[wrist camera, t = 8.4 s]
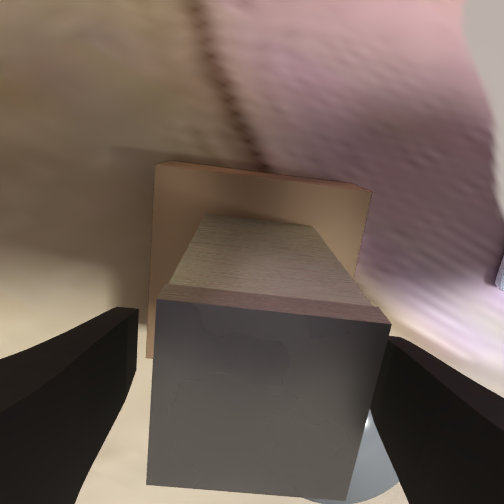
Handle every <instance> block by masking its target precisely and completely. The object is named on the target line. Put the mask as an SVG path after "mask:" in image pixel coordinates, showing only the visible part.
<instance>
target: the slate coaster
mask: <svg viewBox="0 0 504 504" xmlns="http://www.w3.org/2000/svg"><path fill="white" fill-rule="evenodd" d="M398 482H399V479H398V477H397V475H396V472H395V470H394V468H393V466H392V463H391V461H390V459H389V457H388V454H387V452H386V450H385V448H384V445H383V443H382V441H381V438H380V436H379V434H378V431H377V429H376V426H375V424H374V421H373V417H372V414H371V411H370V409H369V413H368V417H367V421H366V425H365V429H364V432H363V436H362V440H361V444H360V448H359V452H358V455H357V459H356V463H355V467H354V471H353V475H352V478H351V482H350V486H349V490H348V494H347V498H346V501H338V500H326V499H314V498H305V499H308V500H310V501H313V502H317V503H322V504H353V503H358V502H362V501H366V500H369V499H371V498H374V497H376V496H378V495H380V494H382V493H384V492H386V491H387V490H389V489H390V488H392V487H393V486H394V485H396V484H397V483H398Z"/></svg>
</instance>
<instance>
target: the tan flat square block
mask: <svg viewBox="0 0 504 504" xmlns="http://www.w3.org/2000/svg"><path fill="white" fill-rule="evenodd" d="M371 196H372V192H371V191H369V190H366V189H364V188H362V187H359V186H357V185H355V184H352V183H344V182H336V181H328V180H320V179H312V178H304V177H296V176H289V175H281V174H273V173H265V172H257V171H249V170H241V169H233V168H225V167H217V166H209V165H201V164H193V163H185V162H177V161H166V162H163V163H159V164H156V165H155V175H154V196H153V217H152V238H151V259H150V280H149V301H148V321H147V342H146V358H151V359H153V353H154V335H155V317H156V299H157V297H158V295H159V293H160V292H161V290H162V288H163V286H164V284H169V282H170V280H171V278H172V276H173V274H174V272H175V270H176V268H177V267H178V265H179V263H180V261H181V259H182V257H183V255H184V253H185V252H186V250H187V248H188V246H189V244H190V242H191V240H192V238H193V236H194V235H195V233H196V231H197V229H198V227H199V225H200V223H201V221H202V220H203V218H204V216H205V214H212V215H220V216H229V217H237V218H245V219H254V220H262V221H270V222H279V223H287V224H295V225H304V226H312V227H314V228H315V230H316V231H317V232H318V234H319V235H320V236H321V238H322V239H323V240H324V242H325V243H326V244H327V246H328V247H329V248H330V249H331V251H332V252H333V253H334V255H335V256H336V257H337V259H338V260H339V261H340V263H341V264H342V265H343V267H344V268H345V269H346V271H347V272H348V273H349V274H350V276H351V277H352V278H354V274H355V269H356V265H357V260H358V255H359V251H360V246H361V242H362V237H363V232H364V228H365V223H366V219H367V214H368V209H369V205H370V200H371Z"/></svg>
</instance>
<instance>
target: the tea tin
mask: <svg viewBox="0 0 504 504" xmlns="http://www.w3.org/2000/svg"><path fill="white" fill-rule="evenodd" d="M391 325H392V324H391V323H390V321H389V320H388V319H387V317H386V316H385V315H384V314H383V312H382V311H381V310H380V309H379V307H375V306H373V305H372V303H371V302H370V301H369V299H368V298H367V297H366V296H365V294H364V293H363V292H362V290H361V289H360V288H359V286H358V285H357V284H356V282H355V281H354V280H353V278H352V277H351V276H350V274H349V273H348V272H347V271H346V269H345V268H344V267H343V265H342V264H341V263H340V261H339V260H338V259H337V257H336V256H335V255H334V253H333V252H332V251H331V249H330V248H329V247H328V246H327V244H326V243H325V242H324V240H323V239H322V238H321V236H320V235H319V234H318V232H317V231H316V230H315V228H314V227H312V226H304V225H295V224H287V223H279V222H270V221H262V220H254V219H245V218H237V217H229V216H220V215H212V214H205V216H204V218H203V220H202V221H201V223H200V225H199V227H198V229H197V231H196V233H195V235H194V236H193V238H192V240H191V242H190V244H189V246H188V248H187V250H186V252H185V253H184V255H183V257H182V259H181V261H180V263H179V265H178V267H177V268H176V270H175V272H174V274H173V276H172V278H171V280H170V282H169V284H164V286H163V288H162V290H161V292H160V293H159V295H158V297H157V299H156V317H155V335H154V353H153V372H152V390H151V408H150V426H149V444H148V462H147V480H146V485H155V486H167V487H179V488H192V489H204V490H216V491H228V492H241V493H253V494H265V495H277V496H289V497H302V498H314V499H326V500H338V501H346V498H347V494H348V490H349V486H350V482H351V478H352V475H353V471H354V467H355V463H356V459H357V455H358V452H359V448H360V444H361V440H362V436H363V432H364V429H365V425H366V421H367V417H368V413H369V409H370V405H371V402H372V398H373V394H374V390H375V386H376V382H377V379H378V375H379V371H380V367H381V363H382V359H383V356H384V352H385V348H386V344H387V340H388V336H389V332H390V329H391Z"/></svg>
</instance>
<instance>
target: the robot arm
mask: <svg viewBox="0 0 504 504" xmlns="http://www.w3.org/2000/svg"><path fill="white" fill-rule="evenodd" d="M495 284H496V286H497V287H498V288H499V289H501V290H502V291H504V256H503V259H502V262H501V265H500V268H499V271H498V274H497V277H496V281H495ZM138 313H139V309H133V308H124V307H116V308H113V309H111V310H109V311H107V312H105V313H103V314H101V315H99V316H97V317H95V318H93V319H91V320H89V321H87V322H85V323H83V324H81V325H79V326H77V327H75V328H73V329H71V330H69V331H67V332H65V333H63V334H60V335H58V336H56V337H54V338H52V339H49V340H47V341H45V342H43V343H40V344H38V345H36V346H34V347H31V348H29V349H26V350H24V351H21V352H19V353H16V354H14V355H11V356H8V357H5V358H2V359H0V504H75V502H76V499H77V497H78V494H79V492H80V489H81V487H82V485H83V483H84V481H85V478H86V476H87V474H88V472H89V470H90V468H91V466H92V464H93V462H94V460H95V458H96V457H97V455H98V453H99V451H100V449H101V447H102V445H103V443H104V441H105V439H106V437H107V435H108V433H109V431H110V430H111V428H112V426H113V424H114V422H115V420H116V418H117V416H118V414H119V412H120V410H121V408H122V406H123V404H124V402H125V400H126V397H127V395H128V392H129V389H130V386H131V384H132V381H133V378H134V375H135V372H136V364H137V339H138ZM370 411H371V414H372V417H373V421H374V424H375V426H376V429H377V431H378V434H379V436H380V438H381V441H382V443H383V445H384V448H385V450H386V452H387V454H388V457H389V459H390V461H391V463H392V466H393V468H394V470H395V472H396V475H397V477H398V479H399V481H400V484H401V486H402V488H403V491H404V493H405V495H406V497H407V500H408V502H409V504H504V398H503V397H501V396H499V395H497V394H496V393H494V392H492V391H490V390H489V389H487V388H485V387H483V386H482V385H480V384H478V383H476V382H475V381H473V380H471V379H470V378H468V377H466V376H465V375H463V374H461V373H460V372H458V371H457V370H455V369H453V368H452V367H450V366H449V365H447V364H445V363H444V362H442V361H441V360H439V359H437V358H436V357H434V356H433V355H431V354H430V353H428V352H426V351H425V350H423V349H421V348H420V347H418V346H416V345H415V344H413V343H411V342H409V341H407V340H405V339H403V338H401V337H395V336H388V340H387V344H386V348H385V352H384V356H383V359H382V363H381V367H380V371H379V375H378V379H377V382H376V386H375V390H374V394H373V398H372V402H371V405H370Z"/></svg>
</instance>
